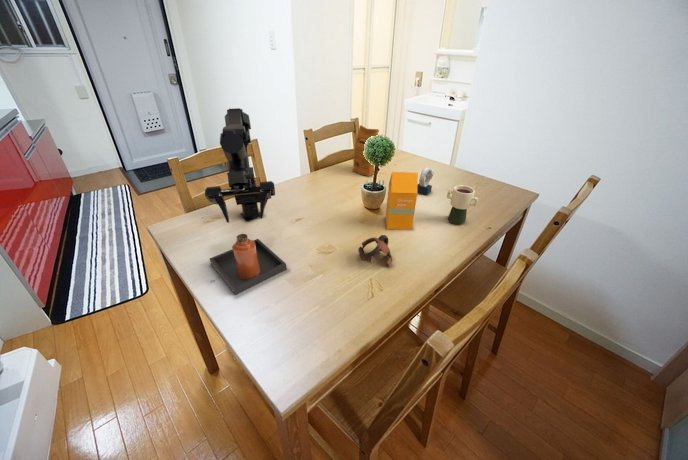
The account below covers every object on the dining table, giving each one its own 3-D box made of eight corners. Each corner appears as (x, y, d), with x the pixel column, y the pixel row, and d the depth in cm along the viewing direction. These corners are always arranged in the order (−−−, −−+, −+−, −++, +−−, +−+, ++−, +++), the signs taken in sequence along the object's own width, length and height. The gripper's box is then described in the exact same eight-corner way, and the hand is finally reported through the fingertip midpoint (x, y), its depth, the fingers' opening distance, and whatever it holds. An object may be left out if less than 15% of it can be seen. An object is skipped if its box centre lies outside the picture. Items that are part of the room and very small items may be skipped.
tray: (211, 265, 90) (209, 258, 88) (259, 245, 98) (257, 238, 97) (236, 296, 79) (234, 288, 78) (286, 271, 88) (286, 263, 86)
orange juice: (385, 217, 114) (390, 167, 103) (408, 218, 114) (416, 168, 103) (387, 229, 108) (392, 176, 97) (411, 229, 107) (420, 177, 96)
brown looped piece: (389, 275, 88) (376, 256, 84) (363, 275, 94) (350, 257, 90) (401, 245, 95) (390, 226, 91) (376, 247, 101) (364, 229, 97)
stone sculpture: (432, 190, 135) (437, 167, 129) (425, 197, 129) (429, 172, 123) (421, 187, 137) (424, 164, 131) (413, 193, 132) (416, 169, 126)
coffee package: (363, 165, 159) (365, 122, 147) (381, 172, 151) (384, 127, 139) (349, 170, 153) (350, 126, 141) (367, 178, 145) (370, 131, 133)
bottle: (234, 271, 86) (226, 235, 80) (254, 263, 90) (247, 227, 83) (244, 282, 83) (236, 246, 76) (264, 273, 86) (257, 237, 79)
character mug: (474, 222, 112) (483, 190, 105) (467, 230, 108) (476, 197, 101) (445, 212, 118) (452, 182, 111) (438, 220, 113) (445, 188, 106)
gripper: (197, 159, 78) (202, 217, 76) (270, 154, 82) (278, 208, 80) (207, 175, 89) (212, 227, 86) (271, 170, 93) (278, 218, 91)
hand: (245, 220), depth 85 cm, fingers open, 9 cm apart
